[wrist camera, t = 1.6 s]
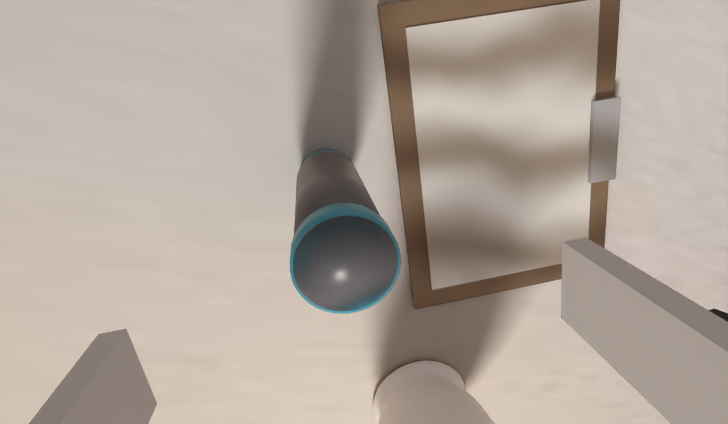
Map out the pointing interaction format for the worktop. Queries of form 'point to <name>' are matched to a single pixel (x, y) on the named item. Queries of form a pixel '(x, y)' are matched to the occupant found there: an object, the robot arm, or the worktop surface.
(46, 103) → the worktop surface
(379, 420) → the jar
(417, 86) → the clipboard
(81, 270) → the worktop surface
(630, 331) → the robot arm
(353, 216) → the grey and teal cylinder
